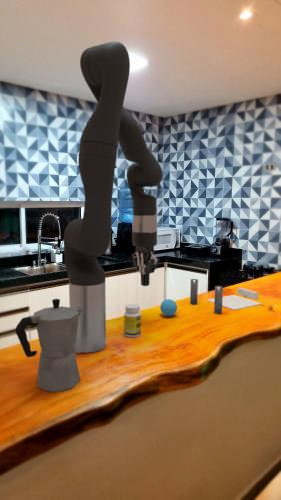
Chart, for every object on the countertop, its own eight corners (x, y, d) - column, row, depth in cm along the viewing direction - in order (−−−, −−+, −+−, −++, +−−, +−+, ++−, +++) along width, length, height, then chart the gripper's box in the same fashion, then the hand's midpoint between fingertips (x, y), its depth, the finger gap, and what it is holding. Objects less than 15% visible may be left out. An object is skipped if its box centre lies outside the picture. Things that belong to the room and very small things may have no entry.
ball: (166, 319, 117) (166, 302, 116) (156, 314, 121) (157, 298, 121) (180, 316, 120) (180, 300, 119) (170, 312, 124) (170, 296, 123)
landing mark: (234, 310, 127) (234, 309, 127) (206, 300, 138) (206, 299, 138) (261, 304, 134) (261, 303, 134) (233, 295, 146) (233, 294, 146)
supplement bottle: (138, 338, 101) (139, 308, 100) (122, 336, 102) (122, 307, 101) (142, 332, 106) (142, 304, 105) (126, 330, 107) (126, 303, 106)
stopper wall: (255, 299, 140) (255, 293, 140) (237, 294, 148) (237, 288, 147) (257, 298, 141) (258, 292, 140) (240, 293, 148) (240, 287, 148)
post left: (193, 305, 132) (193, 280, 131) (188, 303, 135) (189, 279, 133) (198, 304, 134) (199, 279, 132) (194, 302, 136) (194, 278, 135)
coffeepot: (72, 364, 86) (70, 289, 83) (97, 378, 79) (95, 297, 76) (8, 387, 75) (4, 302, 72) (30, 406, 68) (26, 313, 66)
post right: (217, 314, 122) (218, 288, 120) (212, 312, 124) (213, 286, 123) (223, 313, 123) (224, 287, 122) (218, 311, 125) (219, 285, 124)
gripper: (123, 229, 115) (124, 282, 118) (145, 232, 104) (146, 292, 106) (143, 227, 119) (144, 279, 121) (167, 231, 108) (167, 288, 110)
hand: (145, 285), depth 114 cm, fingers closed
